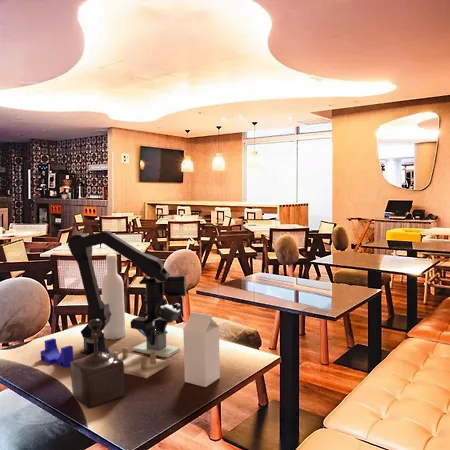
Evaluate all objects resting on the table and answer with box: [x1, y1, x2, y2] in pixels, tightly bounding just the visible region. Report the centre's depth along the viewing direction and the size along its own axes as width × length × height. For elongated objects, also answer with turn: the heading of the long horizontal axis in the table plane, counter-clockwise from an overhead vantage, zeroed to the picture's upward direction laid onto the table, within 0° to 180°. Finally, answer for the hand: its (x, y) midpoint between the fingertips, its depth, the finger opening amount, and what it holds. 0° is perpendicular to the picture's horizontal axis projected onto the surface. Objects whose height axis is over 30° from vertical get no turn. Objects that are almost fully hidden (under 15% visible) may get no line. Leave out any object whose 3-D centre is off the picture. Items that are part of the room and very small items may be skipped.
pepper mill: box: [70, 319, 126, 409], centre depth 119 cm, size 16×11×18 cm
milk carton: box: [182, 311, 221, 388], centre depth 125 cm, size 7×7×19 cm
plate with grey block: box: [132, 330, 181, 358], centre depth 150 cm, size 7×14×6 cm, turn 61°
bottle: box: [101, 253, 126, 340], centre depth 164 cm, size 8×8×30 cm
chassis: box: [111, 346, 170, 379], centre depth 137 cm, size 18×11×4 cm, turn 61°
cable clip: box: [40, 337, 74, 369], centre depth 141 cm, size 12×4×6 cm, turn 48°
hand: (156, 343), depth 150 cm, fingers closed on plate with grey block, 4 cm apart
